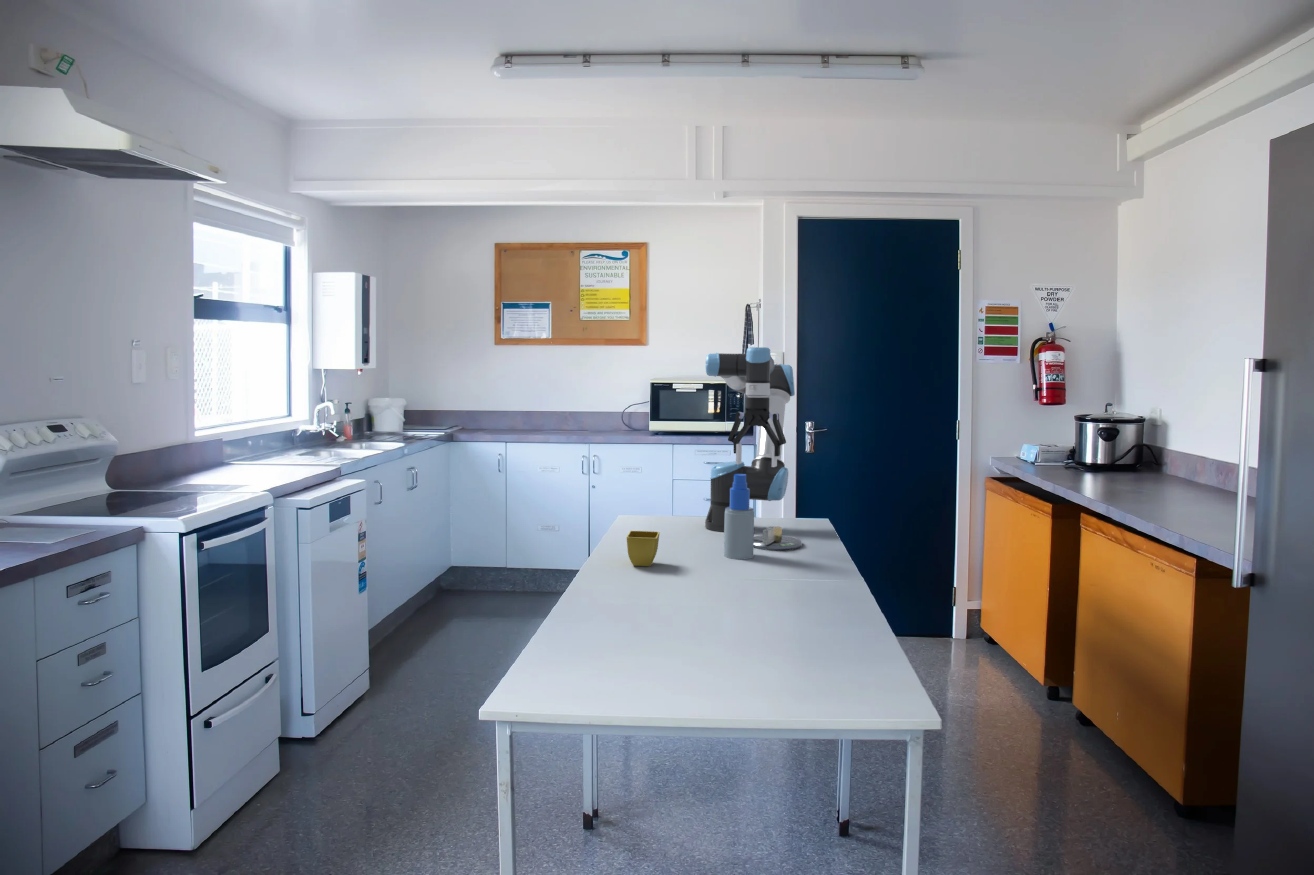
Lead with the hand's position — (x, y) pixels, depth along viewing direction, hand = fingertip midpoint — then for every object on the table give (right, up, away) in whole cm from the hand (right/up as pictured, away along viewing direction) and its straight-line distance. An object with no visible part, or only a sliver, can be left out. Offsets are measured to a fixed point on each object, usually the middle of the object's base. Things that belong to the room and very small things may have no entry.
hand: (756, 465), depth 256 cm
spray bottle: (-7, -27, -10) cm, 30 cm away
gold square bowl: (-36, -28, -22) cm, 50 cm away
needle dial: (+5, -25, +2) cm, 25 cm away
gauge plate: (+7, -26, +5) cm, 27 cm away
